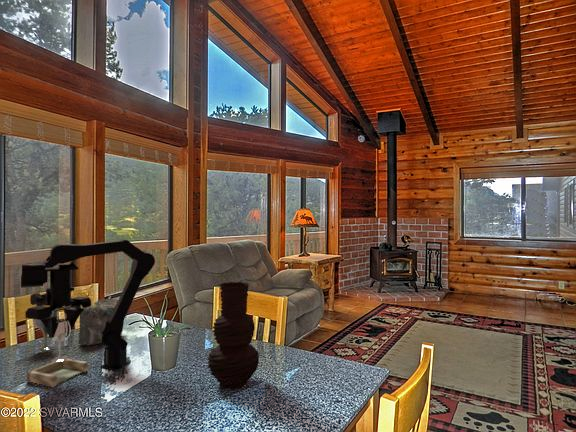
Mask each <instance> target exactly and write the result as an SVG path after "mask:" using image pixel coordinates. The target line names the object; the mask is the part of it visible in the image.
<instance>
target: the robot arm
mask: <svg viewBox="0 0 576 432" xmlns="http://www.w3.org/2000/svg"><path fill="white" fill-rule="evenodd" d="M115 253H123V254H125V255H126V256H127V257H128V258H130V259H131V260H132V263H131V266H130V267H131V268H130V274H129V276H128V279H127V281H126V283H125V286H124V287H123V290H122V291H121V293H120V296H119V298H118V302H117V304H116V306H115V308H114V310H113V313H112V314H111V316H110V317H109V318H108V319H106V318H103V320H102V323H101V325H100V327H99V328H98V330H99V333H98V335H99V338H100V340H101V341H102V343H101V344H103V345H104V346H105V347H104V351H103V364H102V365H100V368H101V369H106V370H112V371H113V370H114V371H118V370H119V369H122V368H123V367H125V366H127V365H129V364H130V363H131V362H130V361H128V360H127V354H128V353H127V348H128V344H129V343H128V341H127V340H126V339H125V338H124V336H122V334H123V330H124V322H125V318H126V316H127V314H128V312H129V310H130V308H131V305H132V303H133V301H134V299H135V297H136V295H137V292H138V290H139V288H140V286H141V283H142V281H143V280H144V279H145V278H146V277H147V276H148V274H149V273H150V272H151V270H152V269H153V268H154V266H155V264H156V259H155V256H154V255H153V254H152V253H150V252H146V251H143V250H142V249H139V247H137V246H135V245H134V244H133V243H132V242H131V241H130V240H128V239H120V240H119V239H118V240H113V241H112V240H111V241H104V242H97V243H95V242H94V243H87V244H73V243H56V244H54V245H53V246H52V247H51V248H50V250H49V255H48V257H47V258H46V259H45V260H44V261H43V262H42V263H41V264H39V263H38V264H28V263H26V264H22V265H21V275H20V288H21V289H23V288H35V287H37V288H38V287H43V286H44V284H46V283H48V279H49V288H46V290H45V293H44V294H41V293H40V292H37V293H33V294H30V298H29V300H30V305H31V306H32V307H31V306H30V307H29V308H27V309H26V311H25V319H30V320H34V319H37V320H41V321H42V323H43V324H44V326H45V328H46V331H47V333H48V337H49V338H50V339H51V338H53V337H54V333H55V327H56V321H57V316H54V312H56V311H59V312H60V311H64V313H65V319H69V322H70V326H71V331H72V330H73V328H74V326H75V325H76V322H77V321H78V319H79V318H80V314H81V312H82V311H84V309H83V308H86V307H89V306H91V307H92V300H91V298H90V297H87V296H75V297H72V291H75V286H72V271H74V270H79V266H77V265H76V264H75V263H74V262H73V261H76V260H79V259H81V258H85V257H93V256H100V255H106V254H107V255H109V254H115ZM67 263H68V264H67ZM57 265H58V267H56V266H57ZM48 272H49V278H48ZM34 305H36V306H34ZM48 306H50V307H48Z"/></svg>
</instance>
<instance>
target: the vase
mask: <svg viewBox="0 0 576 432" xmlns="http://www.w3.org/2000/svg"><path fill="white" fill-rule="evenodd" d="M218 286H219V289H220V291H219V295H220V302H221V303H220V309H221V311H220V313H221V315H219V316H218V318H216V319H214V321H215V322H214V323H213V326H212V329H213V330H212V333H213V334H212V335H213V337H214V340H215V343H216V344H218V345H216V346H215V347H214V348H211V349H210V352H209V353H208V357H207V360H208V361H207V364H208V365H207V367H208V368H209V371H210V372H211V373H210V374H211V375H212V376H213V377H214V379H216V382H217V383H219V386H220V387H221V388H222V389H224V390H231V391H234V390H238V389H242V388H244V387H245V386H246V385H247V384H248V381H249V380H250V379H251V378H252V377H253V375H254V374H255V372H256V371H257V369H258V366H259V363H260V359H259V358H260V355H259V351H258V350H257V349H256V348H255V346H253V345H252V344H250V343H251V342H252V339H253V338H254V332H255V329H256V326H255V323H254V319H253V318H252V317H251V316H250V315H248V313H247V312H248V296H249V293H248V292H249V287H250V285H249V282H242V281H229V282H222V283H220V284H218Z"/></svg>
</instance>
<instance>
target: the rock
mask: <svg viewBox="0 0 576 432" xmlns="http://www.w3.org/2000/svg"><path fill="white" fill-rule="evenodd" d="M118 300H119V298H109V299H98V300H96V301H95V302H94V305H91V306H89V307H86V308H83V307H82V308H83V309H84V311H82V312H81V314H80V316H79V321H78V322H79V333H78V340H77V343H78V344H79V345H81V346H93V345H95V346H96V345H98V344H103V343H102V341H101V340H100V338H99V335H98V333H99V330H98V328H99V327H100V325H101V323H102V320H103V318H106V319H108V318H109V317H110V316H111V314H112V313H113V310H114V308H115V306H116V304H117V302H118Z"/></svg>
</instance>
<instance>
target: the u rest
mask: <svg viewBox="0 0 576 432" xmlns="http://www.w3.org/2000/svg"><path fill="white" fill-rule="evenodd" d="M88 364H89V363H88V361H83V360H78V359H71V358H68V359H67V360H65V361H61V362H52V361H51V362H49V363H47V364H44V365H41V366H39V367H36V368H34V369H32V370H30V371H27V372H26V373H27V374H26V382H27V381H28V382H27V383H29V382H33V383H32V384H34V383H37V384H36V385H39V384H42V385H41V386H44V385H47V386H46V387H49V386H51V387H50V388H55V387H57V386H58V385H59V384H58V383H60V382H62V381H64V382H66V381H67V380H66V379H69V378H71V377H73V376H75V375H77V376H79V375H81V374H80V373H82V372H85V373H87V372H88V368H89V366H88ZM86 371H87V372H86ZM78 374H79V375H78ZM82 374H83V373H82ZM75 377H76V376H75ZM73 378H74V377H73ZM71 379H72V378H71ZM65 380H66V381H65ZM69 380H70V379H69ZM62 383H63V382H62ZM57 384H58V385H57ZM60 384H61V383H60ZM56 385H57V386H56ZM54 386H55V387H54Z"/></svg>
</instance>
